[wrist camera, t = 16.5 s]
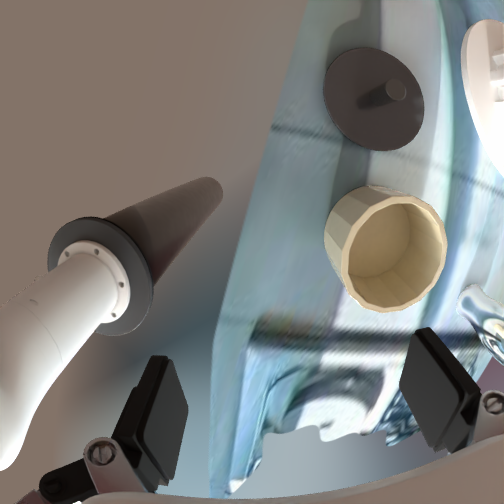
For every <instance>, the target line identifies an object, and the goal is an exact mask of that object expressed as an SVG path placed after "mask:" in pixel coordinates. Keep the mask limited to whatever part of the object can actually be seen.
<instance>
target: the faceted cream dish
mask: <svg viewBox="0 0 504 504" xmlns="http://www.w3.org/2000/svg"><path fill="white" fill-rule="evenodd" d="M324 244H325V250H326V252H327V255H328V257H329V259H330V262H331V264H332V266H333V268H334V270H335V271H336V273H337V275H338V276H339V278H340V280H341V282H342V283H343V285H344V287H345V288H346V290H347V292H348V294H349V295H350V296H351V297H352V298H353V299H354V300H355V301H356V302H357V303H359V304H360V305H361V306H362V307H363V308H365V309H369V310H372V311H376V312H379V313H387V312H395V311H401V310H404V309H406V308H407V307H409V306H411V305H413V304H415V303H417V302H418V301H420V300H421V299H422V298H423V297H424V296H425V295H426V294H427V293H428V292H429V291H430V290H431V289H432V287H433V286H434V285H435V284H436V282H437V280H438V278H439V276H440V274H441V271H442V269H443V267H444V264H445V258H446V251H447V238H446V234H445V229H444V224H443V222H442V220H441V219H440V217H439V216H438V214H437V213H436V212H435V210H434V209H433V207H432V206H431V205H429V204H427V203H425V202H424V201H422V200H420V199H418V198H416V197H414V196H411V195H408V194H405V193H402V192H399V191H396V190H393V189H390V188H387V187H383V186H364V187H360V188H357V189H355V190H353V191H351V192H349V193H347V194H346V195H345V196H343V197H342V198H341V199H340V200H339V201H338V202H337V203H336V205H335V206H334V207H333V209H332V211H331V212H330V214H329V217H328V219H327V222H326V226H325V231H324Z"/></svg>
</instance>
